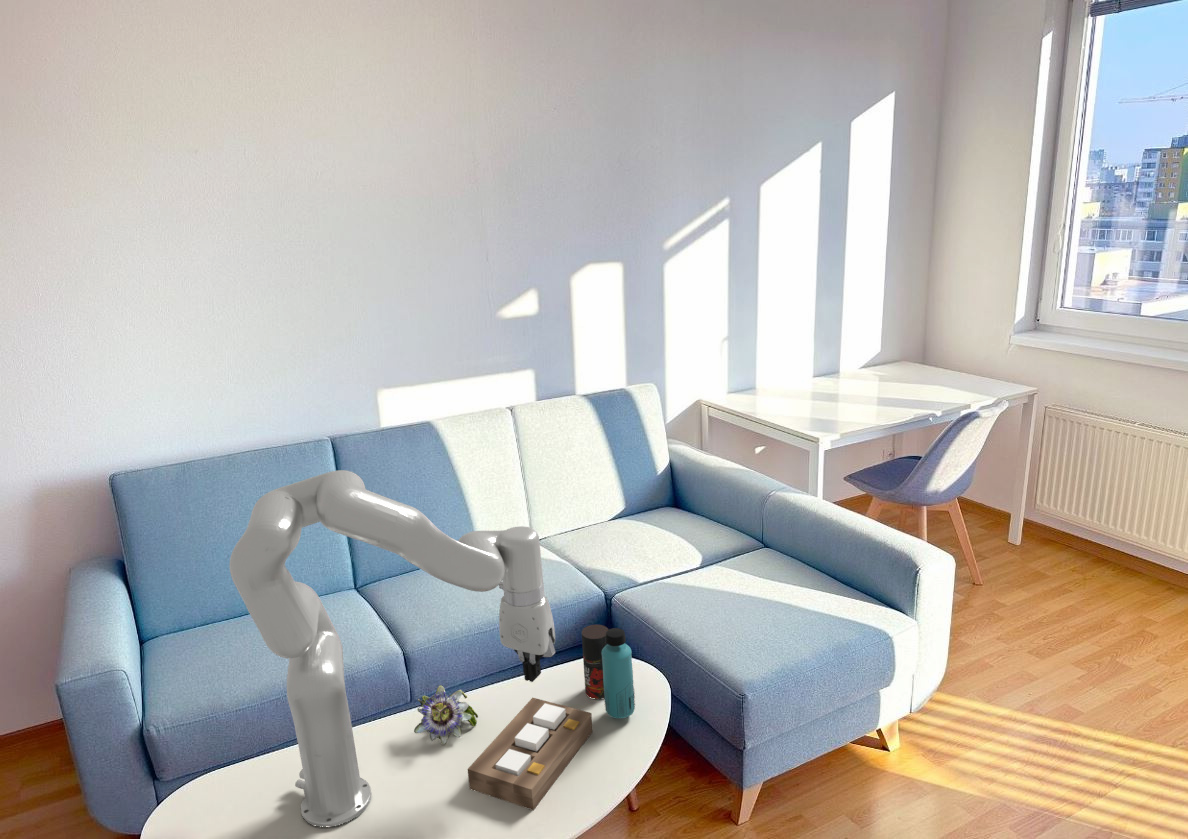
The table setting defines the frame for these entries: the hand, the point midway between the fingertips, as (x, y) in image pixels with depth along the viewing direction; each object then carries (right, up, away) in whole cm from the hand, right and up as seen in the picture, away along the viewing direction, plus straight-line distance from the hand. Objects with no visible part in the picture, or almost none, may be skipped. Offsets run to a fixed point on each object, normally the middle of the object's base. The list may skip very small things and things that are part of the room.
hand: (532, 677), depth 161 cm
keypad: (0, -17, +4) cm, 18 cm away
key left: (-3, -16, -3) cm, 17 cm away
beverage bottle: (+17, -13, +16) cm, 27 cm away
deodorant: (+13, -11, +24) cm, 29 cm away
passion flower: (-19, -16, +14) cm, 28 cm away
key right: (+3, -11, +8) cm, 14 cm away
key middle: (0, -13, +2) cm, 14 cm away
